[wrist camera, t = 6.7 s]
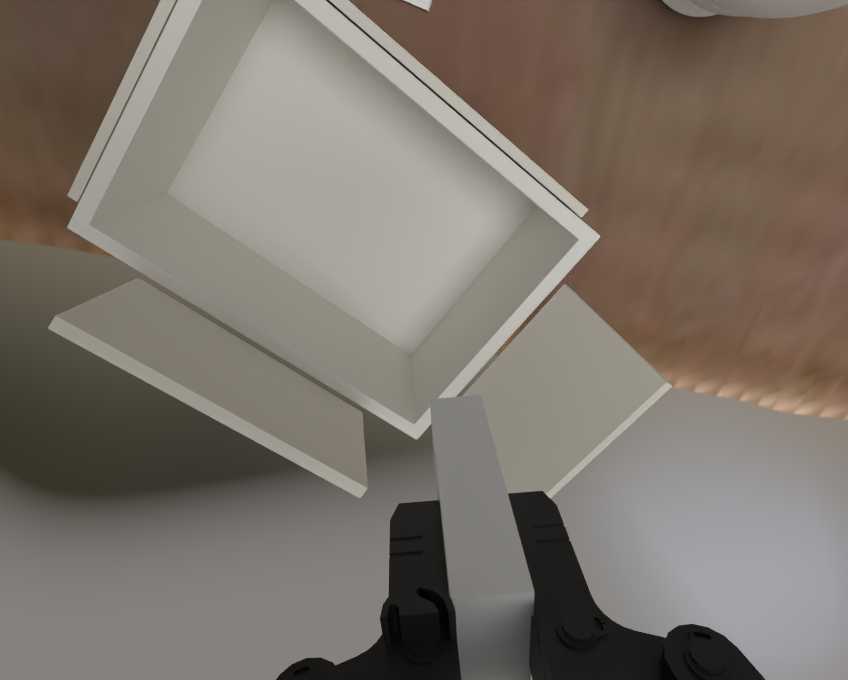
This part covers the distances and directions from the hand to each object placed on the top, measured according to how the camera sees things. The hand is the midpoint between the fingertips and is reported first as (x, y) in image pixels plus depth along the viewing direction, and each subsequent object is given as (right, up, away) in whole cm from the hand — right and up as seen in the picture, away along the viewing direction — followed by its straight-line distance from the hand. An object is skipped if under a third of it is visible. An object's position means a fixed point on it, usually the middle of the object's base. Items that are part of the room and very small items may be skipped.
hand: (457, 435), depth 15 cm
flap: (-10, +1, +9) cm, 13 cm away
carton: (-6, +13, +20) cm, 24 cm away
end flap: (+5, 0, +11) cm, 12 cm away
